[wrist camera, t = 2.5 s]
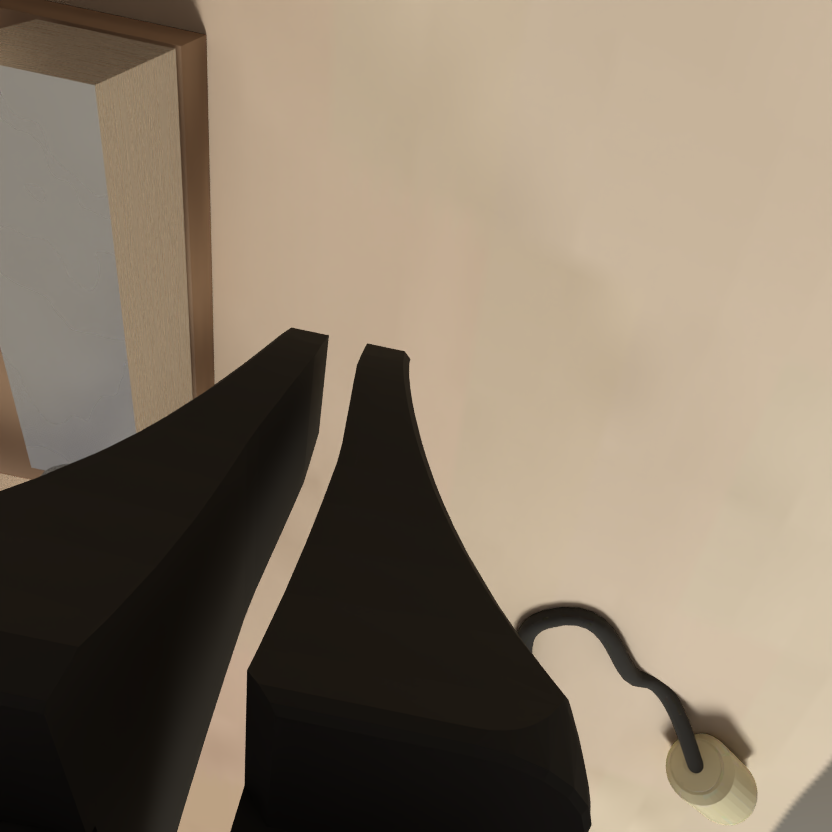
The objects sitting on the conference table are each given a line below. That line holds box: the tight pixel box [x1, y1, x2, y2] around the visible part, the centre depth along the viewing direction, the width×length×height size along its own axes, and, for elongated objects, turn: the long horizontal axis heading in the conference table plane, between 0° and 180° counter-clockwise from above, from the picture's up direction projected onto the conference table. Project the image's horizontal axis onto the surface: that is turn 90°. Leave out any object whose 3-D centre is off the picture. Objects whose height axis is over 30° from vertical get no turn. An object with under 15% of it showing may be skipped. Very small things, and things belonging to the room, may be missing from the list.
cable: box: [518, 607, 757, 825], centre depth 32 cm, size 16×16×4 cm
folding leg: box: [0, 19, 193, 476], centre depth 17 cm, size 12×3×4 cm, turn 170°
